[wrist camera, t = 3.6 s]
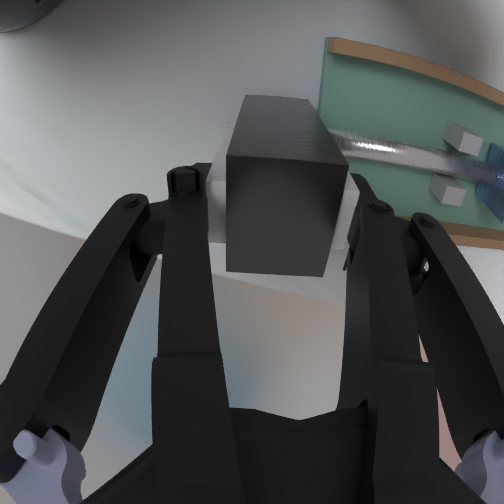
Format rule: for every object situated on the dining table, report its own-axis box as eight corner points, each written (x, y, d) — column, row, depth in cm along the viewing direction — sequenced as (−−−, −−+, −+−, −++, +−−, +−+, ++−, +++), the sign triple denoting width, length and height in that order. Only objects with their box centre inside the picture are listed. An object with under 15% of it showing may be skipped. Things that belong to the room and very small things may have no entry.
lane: (325, 37, 16) (336, 37, 14) (566, 132, 16) (587, 146, 14) (303, 210, 25) (307, 236, 23) (525, 237, 25) (540, 256, 23)
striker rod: (245, 94, 18) (225, 155, 10) (506, 148, 18) (590, 223, 10) (243, 163, 21) (226, 271, 13) (489, 197, 21) (557, 282, 13)
